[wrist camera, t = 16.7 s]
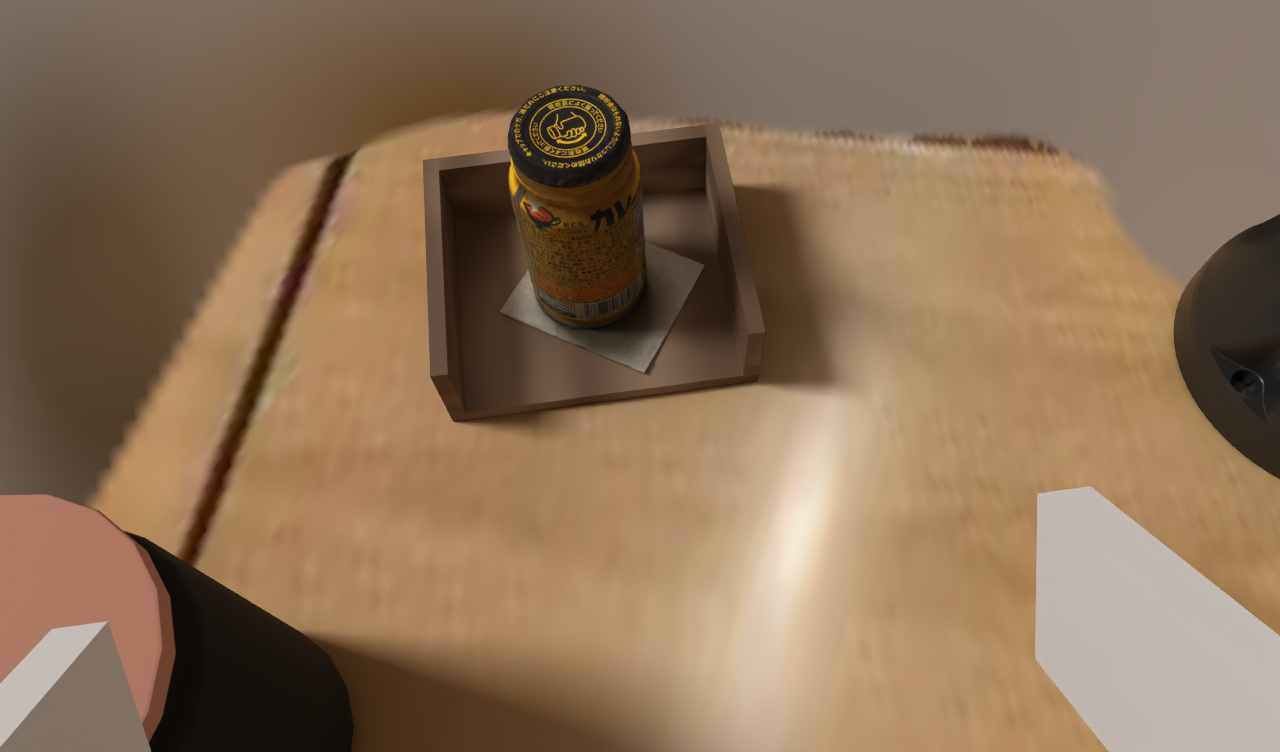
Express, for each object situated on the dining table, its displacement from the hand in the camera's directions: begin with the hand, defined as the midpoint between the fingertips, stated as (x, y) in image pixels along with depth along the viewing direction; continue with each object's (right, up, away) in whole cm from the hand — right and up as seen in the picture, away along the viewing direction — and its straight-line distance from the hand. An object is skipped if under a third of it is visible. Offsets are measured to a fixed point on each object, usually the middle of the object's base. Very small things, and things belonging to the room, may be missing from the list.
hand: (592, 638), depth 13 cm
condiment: (-1, +8, +37) cm, 38 cm away
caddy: (-2, +8, +38) cm, 38 cm away
